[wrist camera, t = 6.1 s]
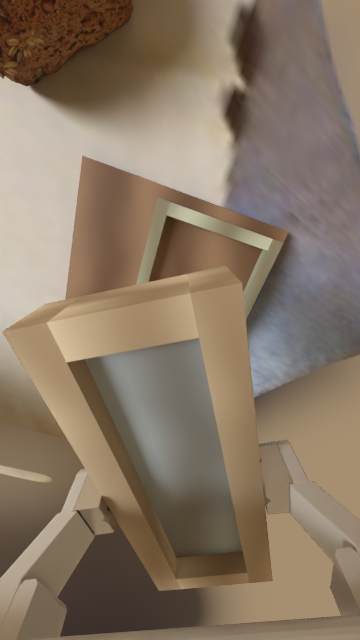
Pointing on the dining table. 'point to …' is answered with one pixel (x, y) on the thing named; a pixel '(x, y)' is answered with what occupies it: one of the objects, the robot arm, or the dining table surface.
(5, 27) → the bread
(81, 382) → the frame
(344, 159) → the dining table surface
